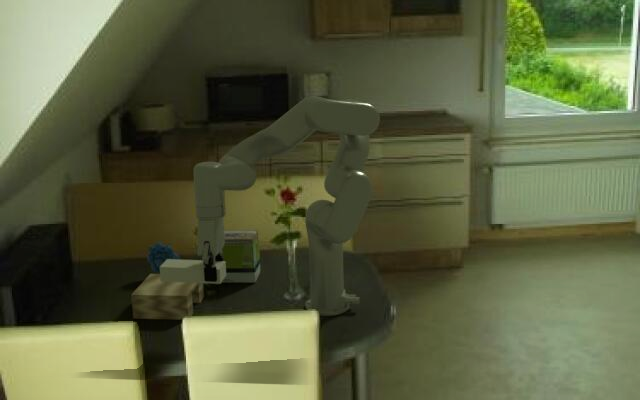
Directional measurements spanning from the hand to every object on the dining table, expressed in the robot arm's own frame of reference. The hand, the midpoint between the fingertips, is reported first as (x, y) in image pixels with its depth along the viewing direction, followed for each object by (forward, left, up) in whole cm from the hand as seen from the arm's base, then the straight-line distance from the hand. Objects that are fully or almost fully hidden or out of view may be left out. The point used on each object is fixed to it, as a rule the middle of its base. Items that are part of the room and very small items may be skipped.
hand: (214, 275), depth 185 cm
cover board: (+6, 0, -1) cm, 6 cm away
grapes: (+27, -37, -16) cm, 49 cm away
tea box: (+4, -39, -16) cm, 42 cm away
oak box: (+18, -15, -16) cm, 28 cm away
